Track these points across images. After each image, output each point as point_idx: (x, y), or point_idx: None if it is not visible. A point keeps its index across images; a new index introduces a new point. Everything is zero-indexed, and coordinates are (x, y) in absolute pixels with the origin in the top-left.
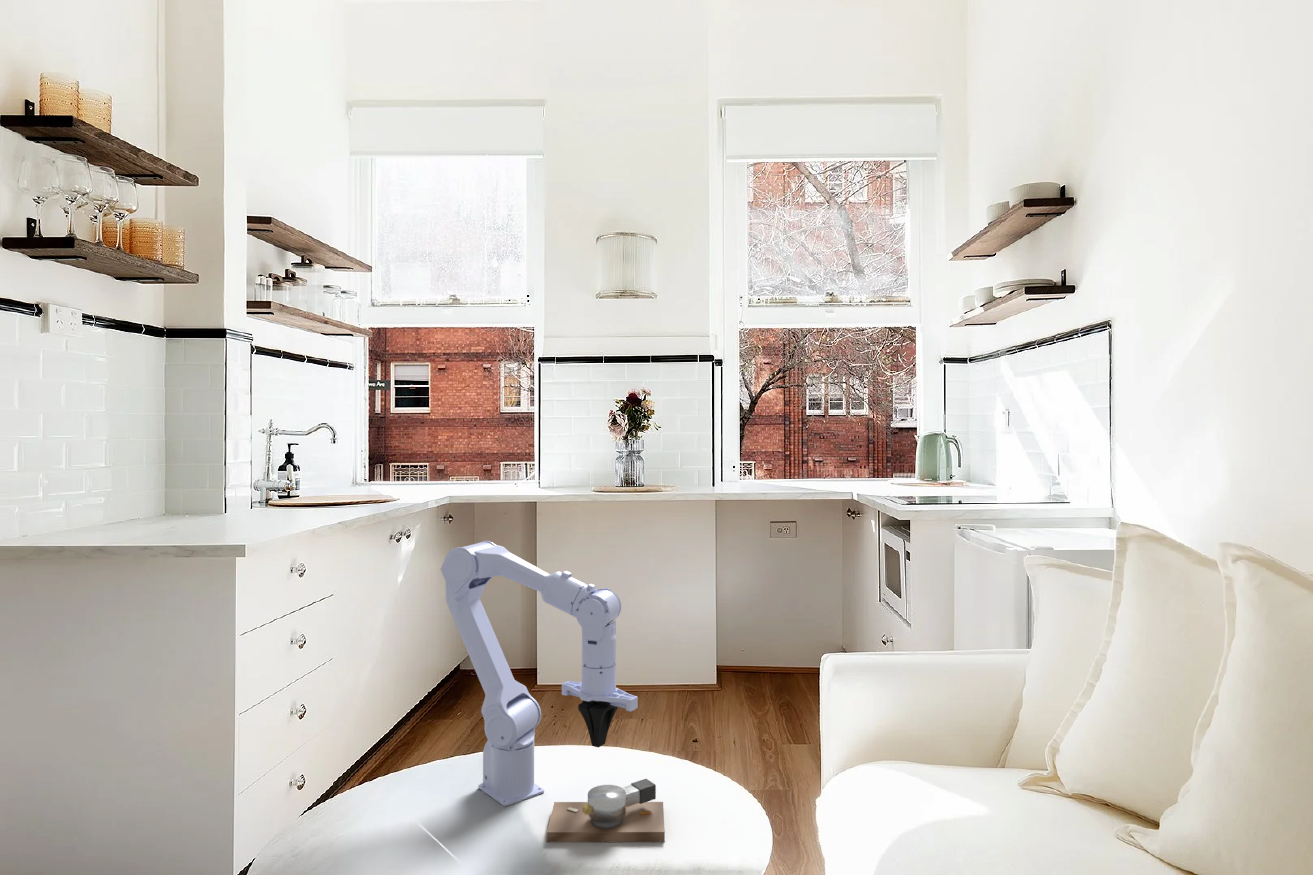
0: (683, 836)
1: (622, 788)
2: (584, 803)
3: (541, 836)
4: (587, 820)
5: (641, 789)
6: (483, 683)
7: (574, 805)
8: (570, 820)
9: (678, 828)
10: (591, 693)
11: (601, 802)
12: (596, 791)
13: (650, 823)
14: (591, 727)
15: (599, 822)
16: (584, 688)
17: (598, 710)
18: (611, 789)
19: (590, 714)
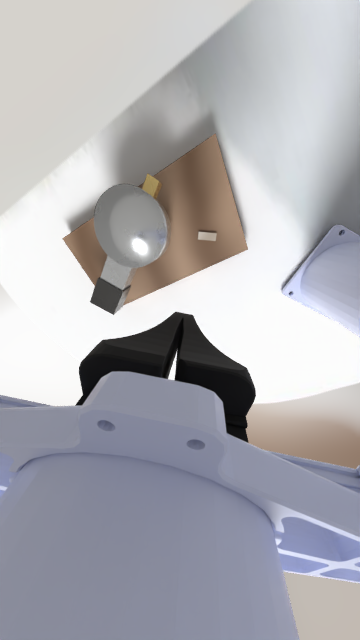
0: (66, 263)
1: (117, 262)
2: (200, 265)
3: (233, 162)
4: (170, 216)
5: (97, 279)
6: None
7: (211, 252)
8: (195, 202)
9: (82, 278)
10: (99, 479)
11: (115, 185)
12: (150, 228)
13: (90, 252)
14: (184, 331)
15: None
16: (206, 570)
17: (99, 351)
18: (131, 249)
19: (179, 355)
